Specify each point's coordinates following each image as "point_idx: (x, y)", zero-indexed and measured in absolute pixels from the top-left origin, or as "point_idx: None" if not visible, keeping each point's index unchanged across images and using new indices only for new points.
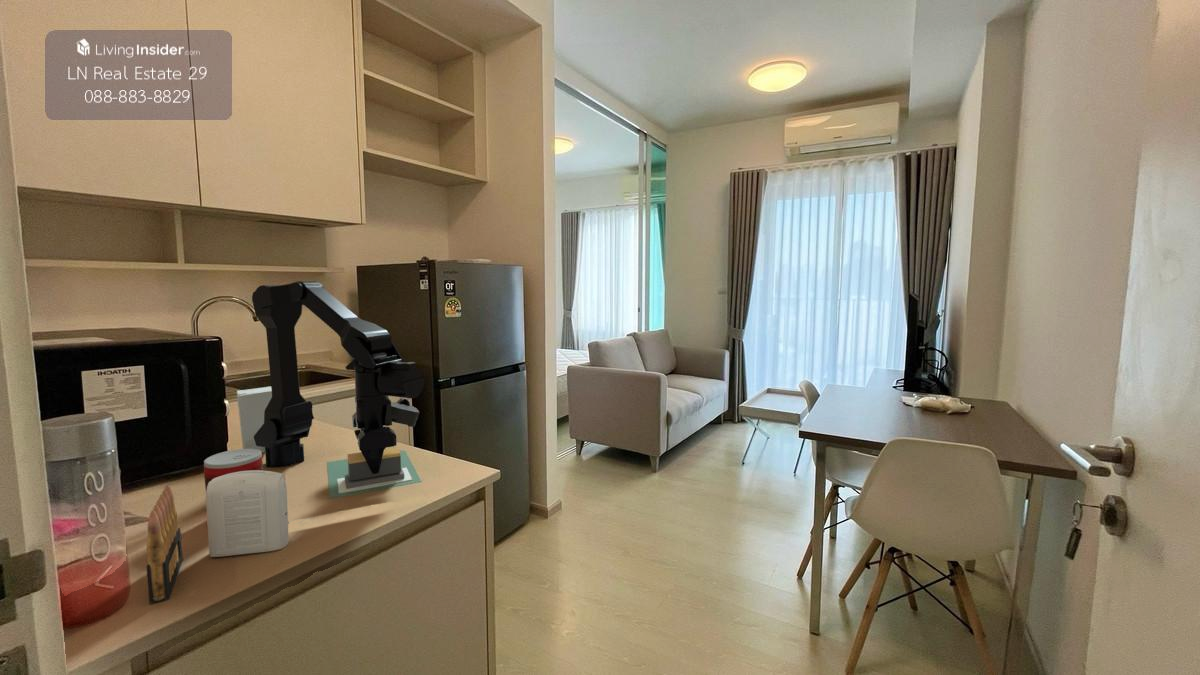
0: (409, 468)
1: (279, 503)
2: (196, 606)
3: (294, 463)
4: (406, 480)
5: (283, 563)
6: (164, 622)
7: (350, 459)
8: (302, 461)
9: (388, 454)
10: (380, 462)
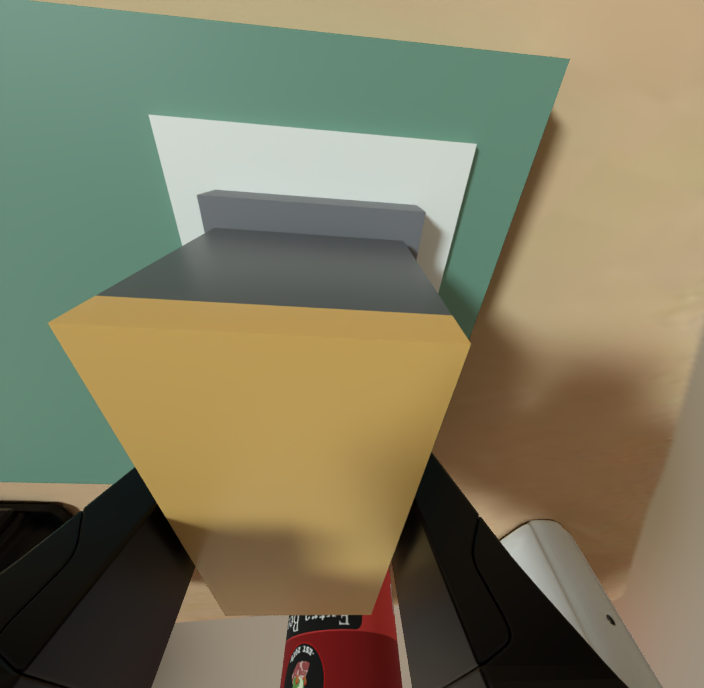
0: (165, 82)
1: (656, 685)
2: (622, 570)
3: (28, 539)
4: (463, 198)
5: (622, 522)
6: (622, 581)
7: (350, 612)
8: (1, 527)
9: (408, 470)
10: (446, 475)
